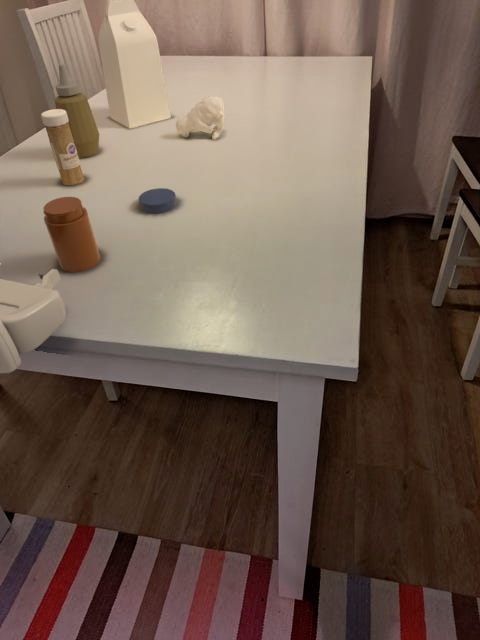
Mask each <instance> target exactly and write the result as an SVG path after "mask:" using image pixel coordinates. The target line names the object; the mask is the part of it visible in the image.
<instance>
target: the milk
mask: <svg viewBox="0 0 480 640" xmlns="http://www.w3.org/2000/svg"><path fill="white" fill-rule="evenodd" d="M135 1H136V0H106V2H105V3H106V4H105V13H104V17H103V21H102V23H101V26H100V29H99V31H98V36H97V40H98V41H97V43H98V48H99V55H100V61H101V67H102V72H103V73H102V74H103V80H104V85H105V92H106V97H107V105H108V110H109V116H110V119H112V120H114V121H115V122H117V123H119V124H121V125H123V126H124V127H126V128H128V129H134V128H137V127H141V126H145V125H149V124H152V123H156V122H160V121H164V120H167V119H172V115H171V109H170V103H169V97H168V91H167V87H166V82H165V81H166V80H165V75H164V69H163V64H162V59H161V58H162V57H161V53H160V47H159V41H158V38H157V35H156V33H155V31H154V30H153V28H152V27H151V25H150V23H148V21H147V19H146V18H145V15H143V13H142V12H141V11H140V8H139V7H138V5H137V3H136V2H135Z"/></svg>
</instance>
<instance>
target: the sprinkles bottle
mask: <svg viewBox="0 0 480 640" xmlns="http://www.w3.org/2000/svg"><path fill="white" fill-rule="evenodd" d="M40 118H41V121H42V124H43V126H44V128H45V130H46V133H47V138H48V142H49V144H50V149H51V152H52V155H53V157H54V161H55V164H56V167H57V169H58V173H59V176H60V179H61V183H62V185H64V186H67V187H68V186H76V185H80V184H81V183H83V182H84V181H85V175H84V174H83V170H82V166H81V162H80V158H78V154H77V150H76V148H75V144H74V141H73V137H72V134H71V130H70V127H69V122H68V121H69V119H68V116H67V113H66V111H65V110H63V109H56V108H53V109H49V110H45V111H43V112H42V113H41V114H40Z"/></svg>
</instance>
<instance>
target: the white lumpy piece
mask: <svg viewBox="0 0 480 640" xmlns="http://www.w3.org/2000/svg"><path fill="white" fill-rule="evenodd" d="M225 106H226V105H225V103H224V101H223V99H222V98H221V97H220V96H217V95H210V96H206V97H204V98H202V99H201V100H200V101H198V102H197V103H196V104H195V106H194V107H193V108H191V110H190V111H189V112H188V113H186V114H185V115H182V116H180V117H178V118H177V119H176V122H175V128H176V131H177V132H178V133H179V134H180V135H181V136H182V137H183V138H187V139H188V138H189V136H190V132H192V131H197V132H203V133H206V134H211V138H212V140H216V139H217V138H218V137H220V136H221V134H222V132H223V129H224V126H225V121H226V120H225V119H226V118H225V111H226V107H225ZM213 125H215V126H214V127H211V126H213Z"/></svg>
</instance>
